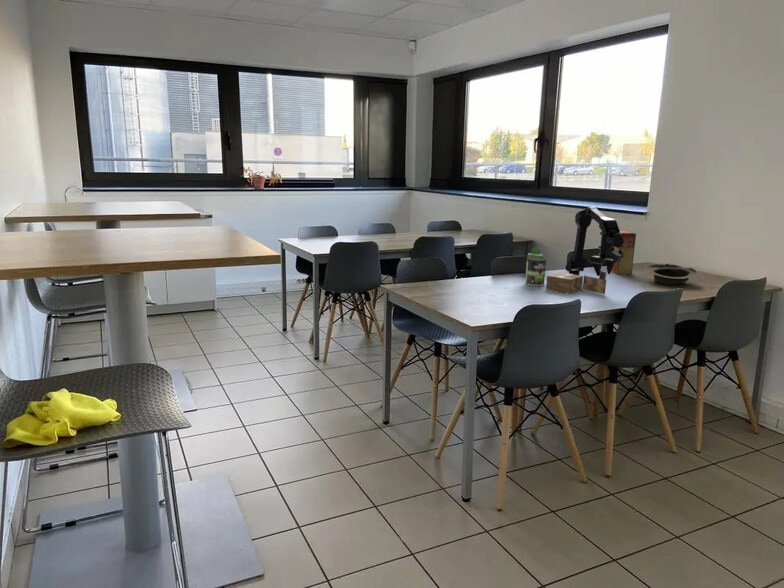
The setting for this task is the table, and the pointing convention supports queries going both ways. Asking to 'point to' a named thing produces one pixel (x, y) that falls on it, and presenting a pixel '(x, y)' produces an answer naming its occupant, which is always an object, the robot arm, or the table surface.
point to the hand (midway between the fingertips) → (603, 274)
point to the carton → (564, 282)
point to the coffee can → (535, 271)
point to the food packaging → (625, 253)
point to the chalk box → (535, 254)
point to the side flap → (595, 283)
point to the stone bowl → (671, 274)
